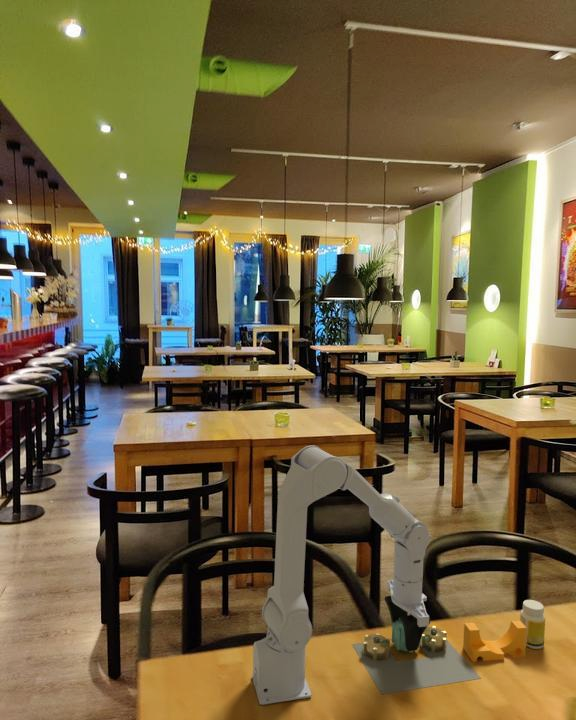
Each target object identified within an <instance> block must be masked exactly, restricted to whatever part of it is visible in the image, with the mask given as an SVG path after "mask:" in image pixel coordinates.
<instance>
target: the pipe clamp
mask: <svg viewBox="0 0 576 720" xmlns="http://www.w3.org/2000/svg"><path fill="white" fill-rule="evenodd" d="M526 636H527V627H526V626H525V625H524V624H523V623H522V622H521V621H520V620H510V626H509V628H508V629H507V632H505V634H504V635H503V636H501V637H500V638H498V639H494V640H487V639H483V638H482V637H481V635H480V629H479V628H478V626H477V625H476V624H475V623H474V622H464V624H463V643H462V648H463V650H464V651H465V653H466V655H468V657H469V659H470V660H471V661H472V662H478V658H479V657H480V659H481V660H482V661H483V662H484V661H485V662H487V661H504V660H505V655H507V654H508V655H510V656H511V657H512V658H513V659H518V658H519V657H520V658H523V657H524V658H526V648H527V646H526ZM520 658H519V659H520Z"/></svg>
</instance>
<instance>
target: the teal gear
mask: <svg viewBox="0 0 576 720" xmlns="http://www.w3.org/2000/svg"><path fill="white" fill-rule="evenodd" d="M391 625H392V626H391V629H392V630H391V639H392V640H391V643H392V644H394V646H395V647H396V648H395V649H396V650H397V651H404V652H409V653H414V651H408V650H407V649H406V644H405V632H404V628H403V624H402V622H401V619H400V618H399V620H397V621H395V622H393V623H392V622H391ZM419 648H420V646H418V649H419Z"/></svg>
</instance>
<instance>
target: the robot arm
mask: <svg viewBox="0 0 576 720" xmlns="http://www.w3.org/2000/svg"><path fill="white" fill-rule="evenodd" d="M284 477H285V478H284V480H283V481H282V484H281V486H280V487H279V490H278V493H277V511H276V532H275V533H276V534H275V536H276V537H275V554H274V555H275V558H274V576H273V577H274V578H273V579H274V580H273V585H272V586H271V587H269V588H268V589H267V597H266V600H265V601H264V604H263V606H262V610H261V615H262V619H263V621H264V622H265V624H266V625H267V630H266V631H267V632H266V637H264V638H262V639H260V640H257V641H254V643H253V645H252V646H253V653H252V676H251V677H252V682H253V685H254V688H255V692H256V695H257V696H256V697H257V699H258V703H259V705H261V706H263V705H270V704H277V703H282V702H290V701H294V700H300V699H301V700H302V699H307V698H311V697H312V692H311V689H310V686H309V683H308V681H307V679H306V649H307V648H306V646H307V645H308V643H309V642H310V640H311V638H312V635H313V625H312V623H311V621H310V617H309V606H308V603H307V600H306V597H305V593H304V587H305V583H304V581H305V564H306V563H305V562H306V561H305V560H306V544H307V542H306V541H307V539H306V538H307V523H308V507H309V506H310V505H311V504H313V503H314V502H316V501H318V500H320V499H321V498H324V497H327V495H330V494H332V493H334V492H336V491H337V490H339V489H340V490H341V491H346V490H348V491H349V492H351V493H352V494H353V495H354V496H355V497H357V498H358V499H360V501H362V503H364V504H366V506H368V514H369V517H370V518H371V519H373V521H375V523H377V524H378V525H379V526H380V527H381V528H382V529H384V530H385V531H386V532H387V533H388V535H389V537H390V538H393V539H394V544H393V545H394V551H393V573H392V574H393V576H392V578H393V579H391V580H387V582H386V583H387V585H386V588H387V591H389V592H390V595H388V596H385V597H384V602H385V604H386V607H387V608H388V611H389V615H390V620H391V621H390V622H391V624H392V623H393V622H395V621H397V620H399V618H400V619H401V622H402V624H403V628H404V632H405V644H406V649H407V650H408V651H407V652H409V651H413V652H414V651H418V649H419V648H418V646H419V643H420V640H421V637H422V635H423V633H424V631H425V629H426V628H427V627H430V624H431V619H430V615H429V614H428V613H427V609H426V606H425V603H424V602H427V596H426V595H425V594H424V593H423V576H424V575H423V574H424V558H425V556H426V552H427V551H426V550H427V547H428V546H429V545H430V542H431V539H432V535H431V534H430V533H429V532H430V531H429V528H428V526H427V525H426V524H425V523H424V522H422V521H420V520H419V519H417V518H415V516H414V515H415V513H414V512H413V511H412V510H411V509H407V508H405V507H404V506H403V505H402V504H401V503H400V501H401V499H400V498H399V496H397V495H395V494H390V493H379V491H377V490H376V488H375V487H373V485H372V484H371V483H369V482H368V480H367V479H366V478H364V476H363V475H361V474H360V472H358V471H357V470H356V469H355V468H354V467H353V466H351V465H350V464H348V463H346V462H344V460H343V459H342V458H340V457H338V456H334V455H332V454H330V453H328V452H326V451H324V450H323V449H322V448H320V446H317V445H314V444H313V445H311V444H310V445H307V446H304V447H303V448H301V449H300V450H299V451H298V452H297V453H296V454H294V455H293V456H291V460H290V468H289V470H288V472H287V473H286V476H284ZM419 647H420V646H419Z"/></svg>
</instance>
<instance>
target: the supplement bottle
mask: <svg viewBox="0 0 576 720" xmlns="http://www.w3.org/2000/svg"><path fill="white" fill-rule="evenodd" d="M544 610H545V607H544V605H543V604H542V602H540V601H537V600H534V599H525V600H524V601H523V602H522V609H521V611H520V615H519V616H520V617H519V621H521V622H522V623H523V624H524V625H525V626H526V627H527V636H526V648H530V649H535V650H539V649H542V648H543V647H544V645H545V632H546V631H545V630H546V629H545V628H546V616H545V613H544V612H545V611H544Z"/></svg>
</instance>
